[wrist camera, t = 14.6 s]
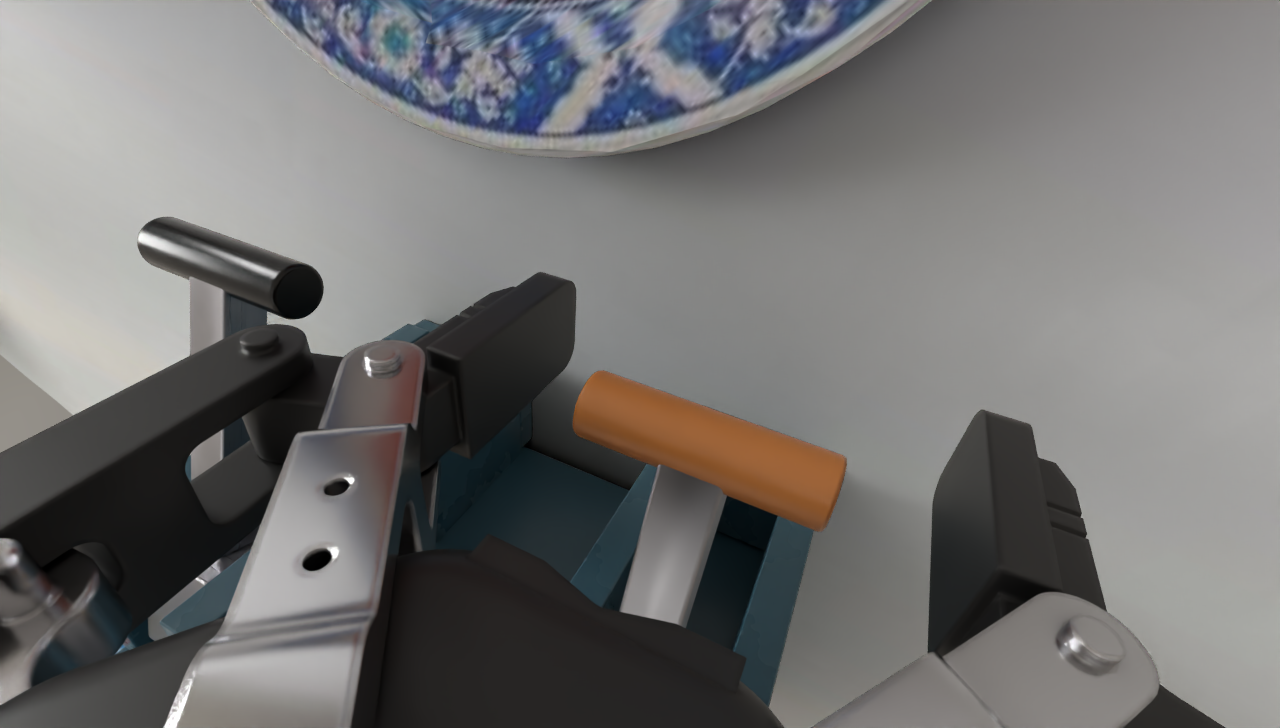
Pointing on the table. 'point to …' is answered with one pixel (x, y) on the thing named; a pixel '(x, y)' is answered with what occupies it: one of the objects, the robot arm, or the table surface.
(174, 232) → the lever
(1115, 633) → the robot arm
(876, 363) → the table surface
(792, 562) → the bracket
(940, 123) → the table surface
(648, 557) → the lever
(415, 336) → the bracket
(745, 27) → the ceramic plate
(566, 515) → the toaster
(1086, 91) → the table surface
